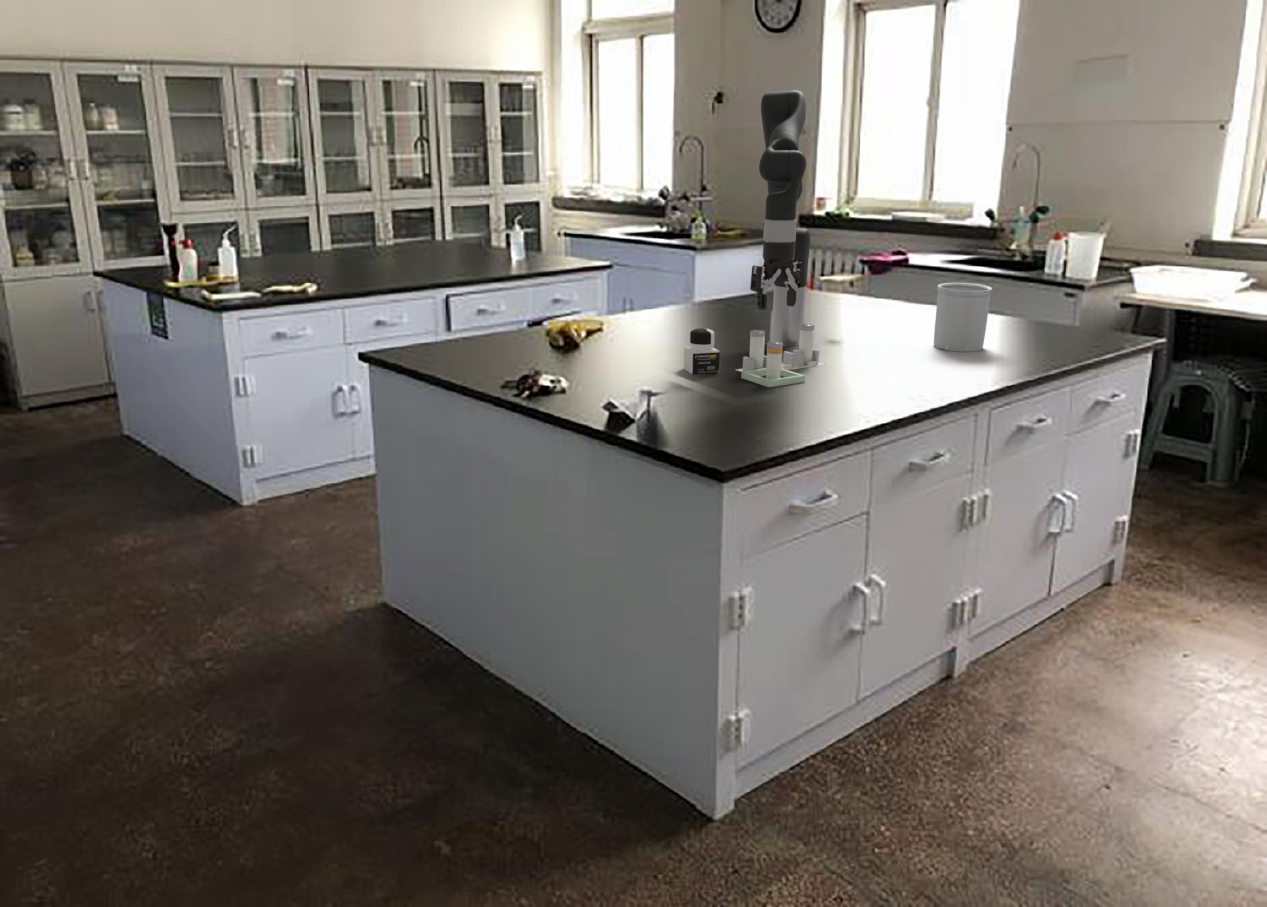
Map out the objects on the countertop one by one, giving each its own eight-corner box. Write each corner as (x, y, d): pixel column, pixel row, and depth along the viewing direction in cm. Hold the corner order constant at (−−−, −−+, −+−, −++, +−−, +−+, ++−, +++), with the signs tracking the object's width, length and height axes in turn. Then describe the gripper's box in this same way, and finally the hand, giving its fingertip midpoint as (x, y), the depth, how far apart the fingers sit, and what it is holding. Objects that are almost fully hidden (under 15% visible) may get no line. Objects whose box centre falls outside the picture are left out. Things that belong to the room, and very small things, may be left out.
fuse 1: (745, 369, 264) (747, 330, 261) (757, 368, 266) (759, 329, 263) (754, 372, 261) (756, 333, 258) (766, 371, 263) (768, 332, 260)
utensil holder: (996, 350, 295) (1003, 289, 290) (951, 354, 291) (957, 291, 286) (965, 340, 309) (971, 281, 303) (921, 343, 304) (927, 283, 299)
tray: (741, 383, 256) (741, 371, 256) (776, 378, 262) (776, 366, 261) (768, 393, 247) (769, 380, 247) (804, 387, 253) (805, 375, 252)
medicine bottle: (692, 380, 260) (693, 332, 256) (683, 374, 266) (684, 327, 263) (719, 378, 262) (720, 331, 258) (709, 372, 268) (711, 326, 264)
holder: (734, 375, 265) (735, 356, 263) (808, 364, 277) (809, 346, 275) (751, 380, 259) (752, 361, 258) (825, 370, 271) (826, 351, 269)
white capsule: (795, 363, 272) (797, 325, 269) (806, 361, 274) (808, 323, 271) (804, 365, 269) (806, 327, 266) (815, 364, 271) (817, 326, 268)
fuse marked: (771, 385, 252) (773, 345, 249) (762, 382, 255) (764, 342, 252) (783, 383, 254) (785, 343, 251) (774, 380, 257) (776, 340, 254)
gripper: (793, 235, 250) (789, 302, 255) (745, 239, 243) (743, 308, 248) (813, 238, 244) (809, 307, 249) (765, 242, 237) (762, 313, 242)
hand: (776, 307), depth 249 cm, fingers open, 8 cm apart
